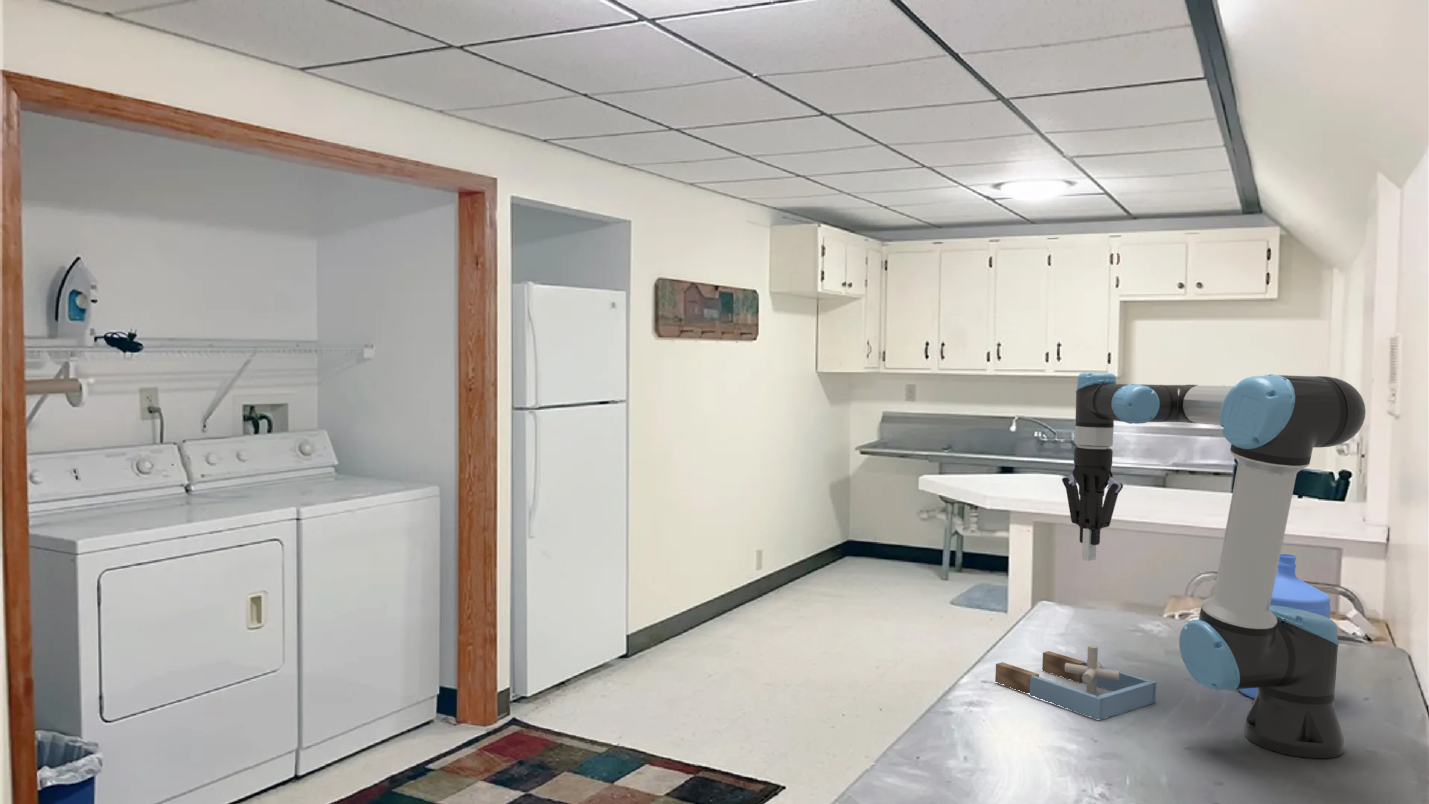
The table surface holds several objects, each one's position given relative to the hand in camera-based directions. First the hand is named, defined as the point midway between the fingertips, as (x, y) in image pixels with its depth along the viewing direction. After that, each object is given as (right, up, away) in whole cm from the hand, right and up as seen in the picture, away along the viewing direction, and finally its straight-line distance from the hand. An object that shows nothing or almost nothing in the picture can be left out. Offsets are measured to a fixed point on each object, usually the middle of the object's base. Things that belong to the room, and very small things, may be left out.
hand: (1088, 559), depth 217 cm
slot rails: (-12, -24, -6) cm, 27 cm away
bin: (-5, -25, -15) cm, 29 cm away
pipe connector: (-5, -25, -14) cm, 29 cm away
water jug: (+34, -26, -10) cm, 44 cm away
